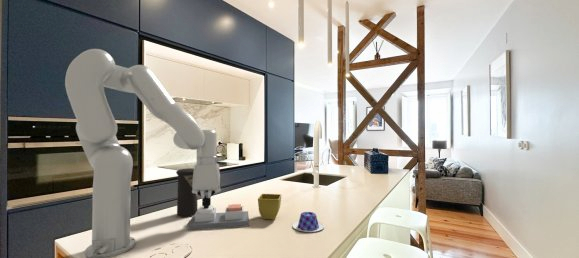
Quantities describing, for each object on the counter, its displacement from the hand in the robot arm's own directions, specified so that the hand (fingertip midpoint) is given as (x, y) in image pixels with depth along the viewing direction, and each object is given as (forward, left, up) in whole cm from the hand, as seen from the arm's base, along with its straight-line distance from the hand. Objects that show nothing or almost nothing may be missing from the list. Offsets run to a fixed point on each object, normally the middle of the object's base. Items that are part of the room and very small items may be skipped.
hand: (206, 207), depth 98 cm
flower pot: (+2, -25, -7) cm, 26 cm away
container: (+13, +10, -6) cm, 17 cm away
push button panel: (0, -5, -6) cm, 8 cm away
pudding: (-11, -38, -7) cm, 41 cm away
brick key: (0, -11, -3) cm, 11 cm away
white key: (0, 0, -3) cm, 3 cm away
